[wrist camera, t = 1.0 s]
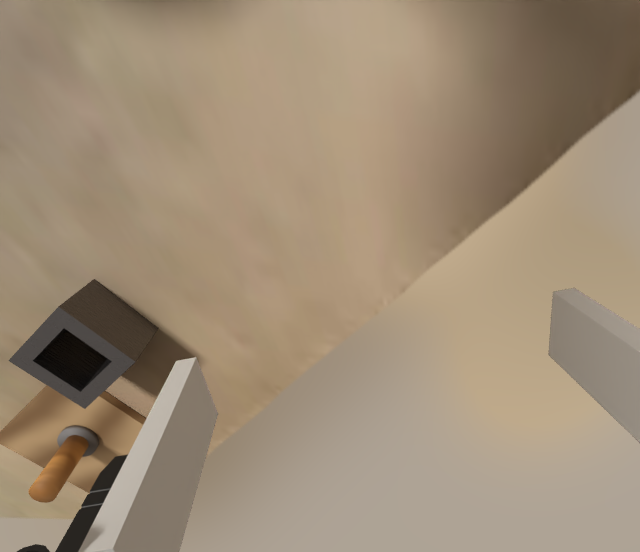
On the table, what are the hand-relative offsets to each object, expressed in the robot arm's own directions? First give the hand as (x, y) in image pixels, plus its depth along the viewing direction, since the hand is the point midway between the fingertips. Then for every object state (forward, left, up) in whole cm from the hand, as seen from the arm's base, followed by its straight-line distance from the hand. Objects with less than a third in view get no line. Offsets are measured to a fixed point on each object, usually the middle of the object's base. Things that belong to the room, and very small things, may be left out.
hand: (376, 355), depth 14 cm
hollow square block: (-7, -26, -24) cm, 36 cm away
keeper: (0, -40, -24) cm, 47 cm away
